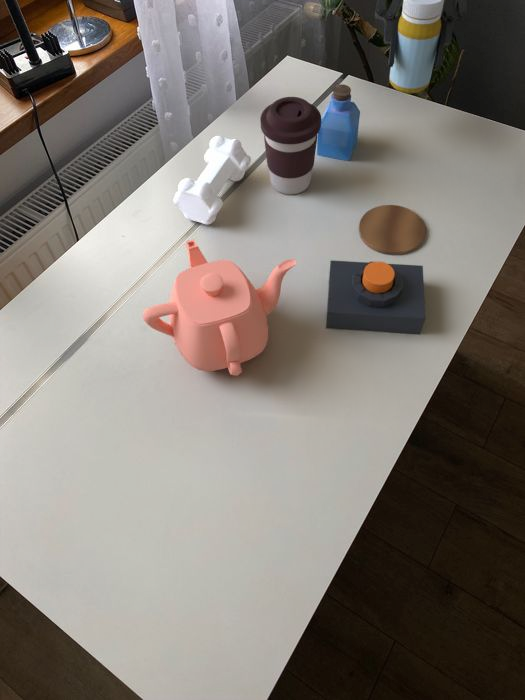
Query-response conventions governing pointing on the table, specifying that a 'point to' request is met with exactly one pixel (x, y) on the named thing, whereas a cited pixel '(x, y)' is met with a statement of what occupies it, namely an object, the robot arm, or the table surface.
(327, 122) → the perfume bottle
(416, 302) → the push button box
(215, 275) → the teapot
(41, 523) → the table surface
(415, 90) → the bottle
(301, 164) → the coffee cup
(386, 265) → the orange push button
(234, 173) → the bone shaped toy
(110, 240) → the table surface
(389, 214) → the coaster
